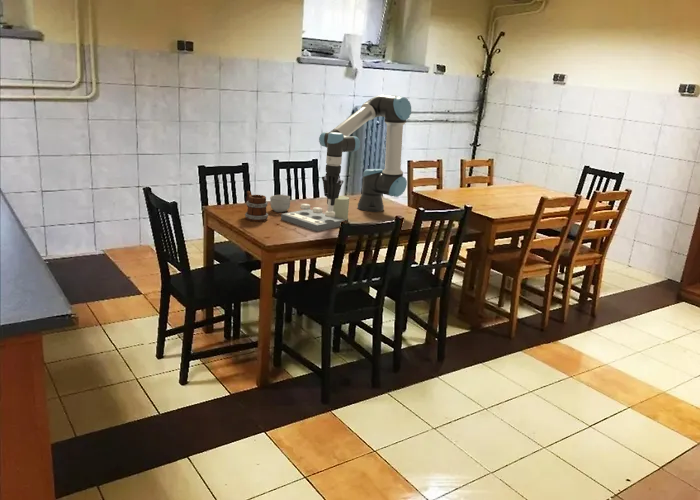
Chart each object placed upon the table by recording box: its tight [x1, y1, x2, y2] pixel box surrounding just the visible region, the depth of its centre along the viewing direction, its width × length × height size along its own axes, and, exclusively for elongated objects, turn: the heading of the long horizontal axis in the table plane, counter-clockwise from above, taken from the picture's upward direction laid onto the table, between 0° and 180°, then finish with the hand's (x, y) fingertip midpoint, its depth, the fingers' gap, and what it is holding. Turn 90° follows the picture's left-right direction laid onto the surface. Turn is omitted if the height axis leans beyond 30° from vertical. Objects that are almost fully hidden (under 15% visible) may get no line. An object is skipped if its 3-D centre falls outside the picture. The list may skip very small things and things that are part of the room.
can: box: [333, 195, 350, 221], centre depth 314 cm, size 9×9×12 cm
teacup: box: [269, 194, 291, 213], centre depth 323 cm, size 14×11×8 cm
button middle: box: [312, 206, 323, 213], centre depth 305 cm, size 5×5×2 cm
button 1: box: [300, 203, 311, 210], centre depth 310 cm, size 5×5×2 cm
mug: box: [244, 190, 269, 223], centre depth 301 cm, size 12×14×15 cm
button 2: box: [324, 210, 335, 217], centre depth 299 cm, size 5×5×2 cm
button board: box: [280, 208, 346, 232], centre depth 304 cm, size 20×26×3 cm
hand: (330, 211), depth 299 cm, fingers closed
